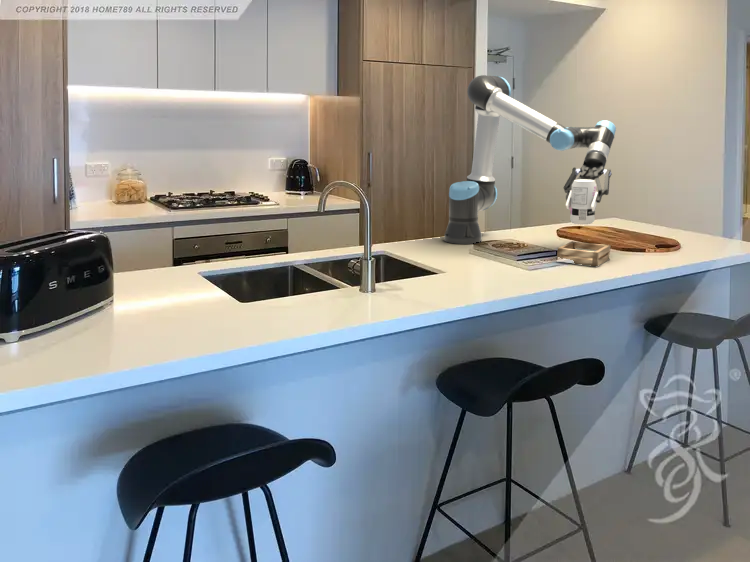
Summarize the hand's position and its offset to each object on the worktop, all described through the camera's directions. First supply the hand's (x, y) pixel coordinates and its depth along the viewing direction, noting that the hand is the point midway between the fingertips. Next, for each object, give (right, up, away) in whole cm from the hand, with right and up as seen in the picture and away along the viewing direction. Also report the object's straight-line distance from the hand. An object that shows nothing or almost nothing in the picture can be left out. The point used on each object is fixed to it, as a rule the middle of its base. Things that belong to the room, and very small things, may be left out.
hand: (579, 208), depth 243 cm
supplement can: (+2, -5, +4) cm, 7 cm away
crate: (+2, -18, +2) cm, 19 cm away
